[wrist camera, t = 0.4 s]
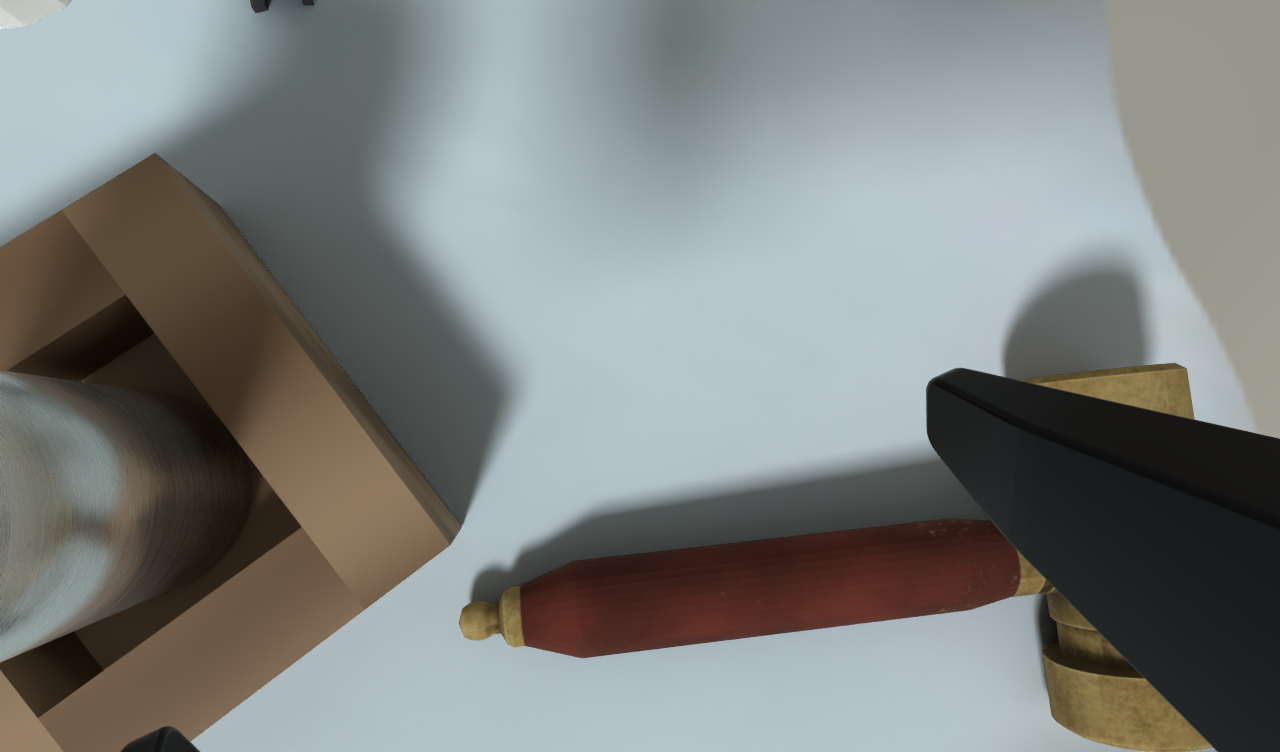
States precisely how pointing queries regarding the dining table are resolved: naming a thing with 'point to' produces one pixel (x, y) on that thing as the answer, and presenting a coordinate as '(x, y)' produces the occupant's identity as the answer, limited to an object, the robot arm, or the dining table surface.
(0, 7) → the white cylinder
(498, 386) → the dining table surface
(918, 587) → the gavel
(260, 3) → the bracket
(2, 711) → the socket block
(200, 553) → the gold-topped cylinder
